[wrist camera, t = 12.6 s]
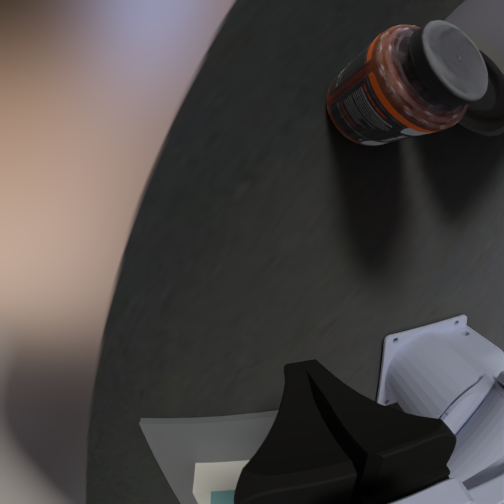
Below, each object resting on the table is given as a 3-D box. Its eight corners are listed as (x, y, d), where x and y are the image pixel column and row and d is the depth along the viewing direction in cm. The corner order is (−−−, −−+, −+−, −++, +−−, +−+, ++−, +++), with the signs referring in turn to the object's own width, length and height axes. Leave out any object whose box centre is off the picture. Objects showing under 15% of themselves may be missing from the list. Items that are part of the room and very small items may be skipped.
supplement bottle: (381, 162, 20) (491, 152, 9) (311, 122, 20) (385, 66, 9) (405, 98, 19) (506, 58, 8) (340, 58, 19) (416, -20, 8)
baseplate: (357, 394, 25) (360, 399, 24) (344, 484, 28) (345, 488, 27) (141, 418, 24) (139, 423, 23) (183, 501, 27) (182, 506, 27)
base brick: (276, 456, 25) (281, 487, 21) (280, 494, 27) (284, 520, 23) (195, 462, 25) (192, 492, 21) (211, 499, 26) (210, 525, 22)
